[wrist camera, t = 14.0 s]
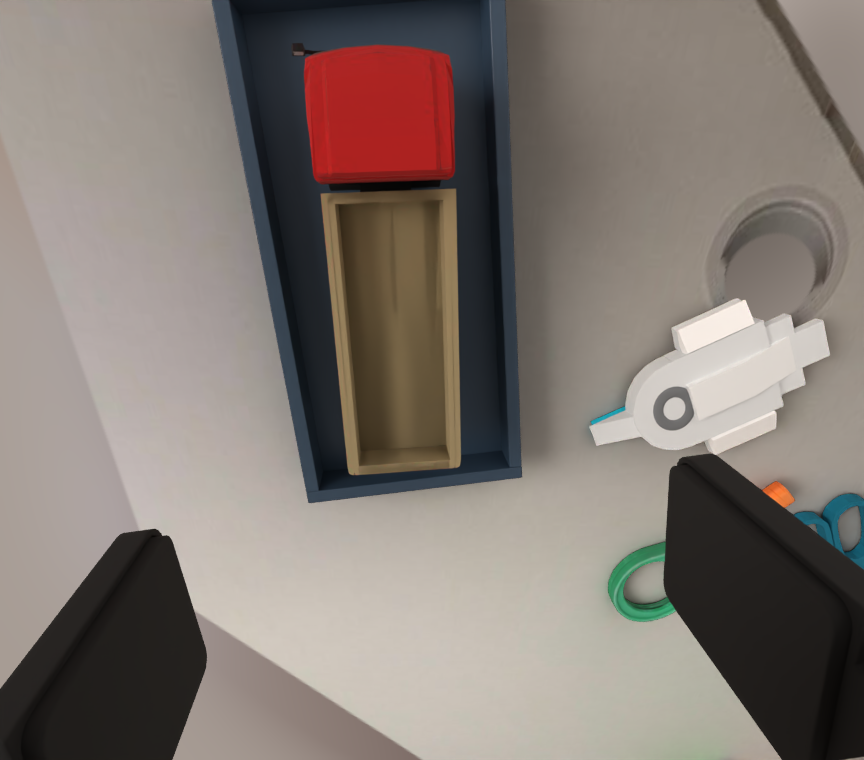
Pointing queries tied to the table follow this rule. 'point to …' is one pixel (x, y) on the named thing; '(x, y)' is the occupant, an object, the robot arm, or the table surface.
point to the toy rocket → (716, 381)
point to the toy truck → (390, 249)
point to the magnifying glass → (658, 554)
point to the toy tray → (301, 194)
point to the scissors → (829, 524)
